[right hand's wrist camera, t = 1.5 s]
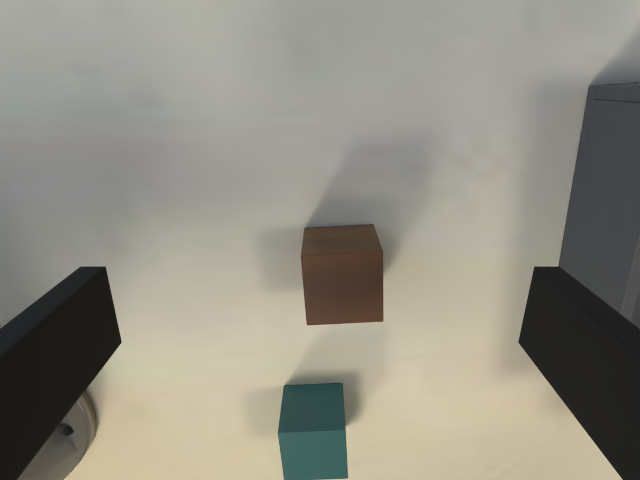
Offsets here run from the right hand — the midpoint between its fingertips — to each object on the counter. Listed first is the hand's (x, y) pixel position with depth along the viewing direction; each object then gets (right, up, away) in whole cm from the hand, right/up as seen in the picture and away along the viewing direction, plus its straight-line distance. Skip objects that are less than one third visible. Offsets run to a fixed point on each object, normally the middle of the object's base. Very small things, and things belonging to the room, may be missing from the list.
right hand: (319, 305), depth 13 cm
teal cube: (0, -13, +23) cm, 26 cm away
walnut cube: (+2, +1, +18) cm, 18 cm away
